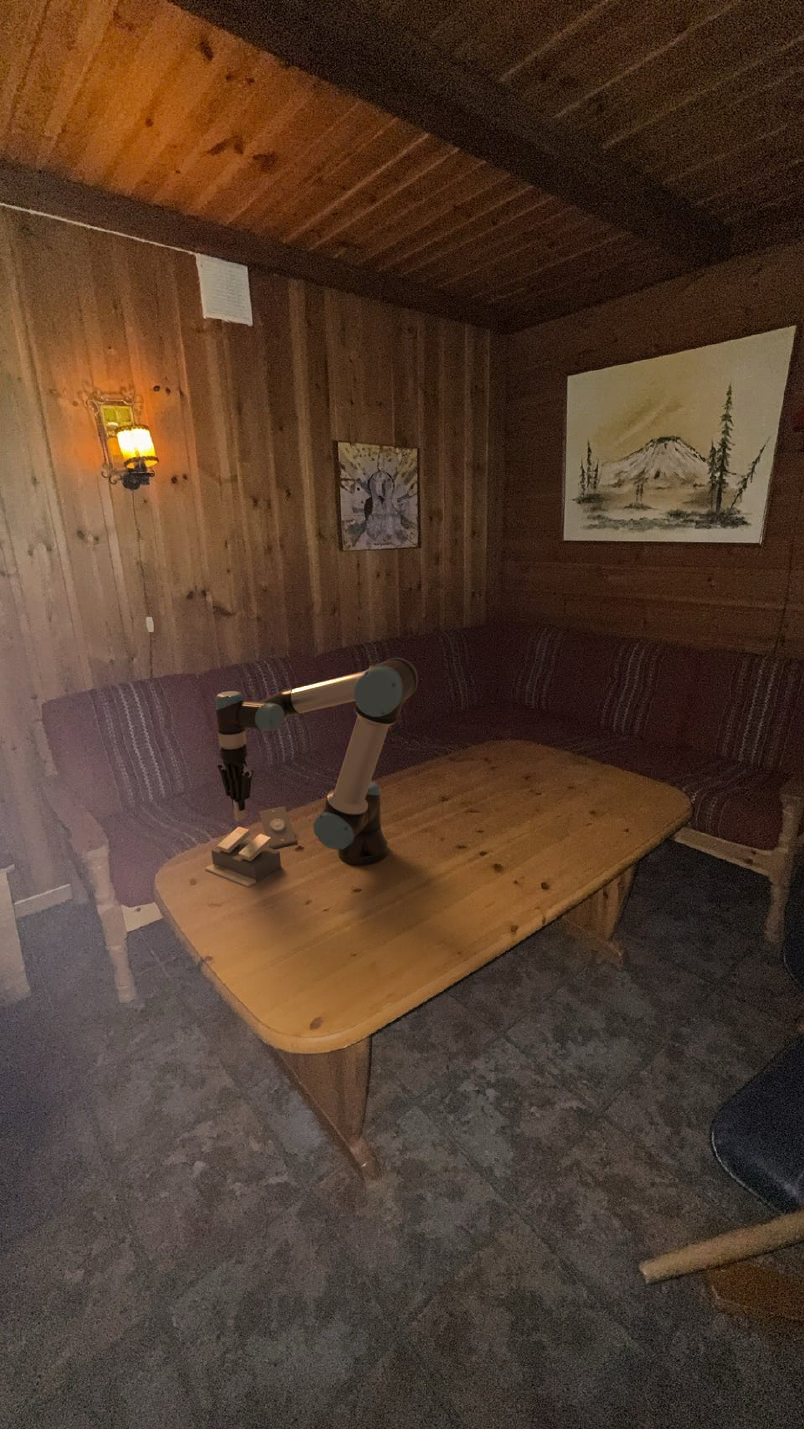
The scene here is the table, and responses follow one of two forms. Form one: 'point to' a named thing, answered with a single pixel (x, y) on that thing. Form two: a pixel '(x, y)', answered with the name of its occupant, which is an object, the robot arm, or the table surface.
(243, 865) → the console
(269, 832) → the light switch
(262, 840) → the rocker sage
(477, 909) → the table surface
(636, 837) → the table surface
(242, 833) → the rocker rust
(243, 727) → the robot arm
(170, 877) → the table surface
